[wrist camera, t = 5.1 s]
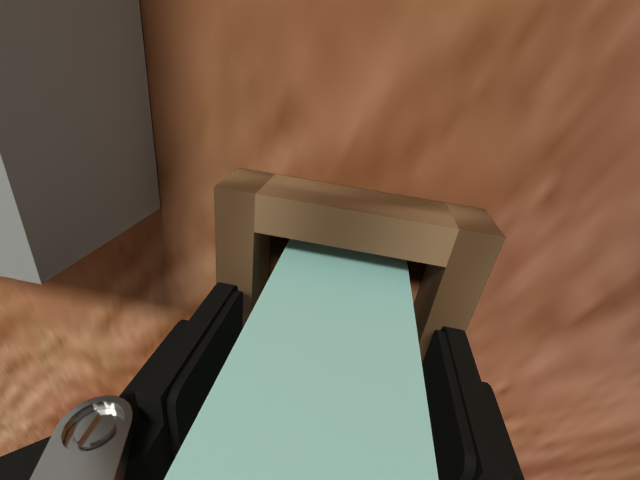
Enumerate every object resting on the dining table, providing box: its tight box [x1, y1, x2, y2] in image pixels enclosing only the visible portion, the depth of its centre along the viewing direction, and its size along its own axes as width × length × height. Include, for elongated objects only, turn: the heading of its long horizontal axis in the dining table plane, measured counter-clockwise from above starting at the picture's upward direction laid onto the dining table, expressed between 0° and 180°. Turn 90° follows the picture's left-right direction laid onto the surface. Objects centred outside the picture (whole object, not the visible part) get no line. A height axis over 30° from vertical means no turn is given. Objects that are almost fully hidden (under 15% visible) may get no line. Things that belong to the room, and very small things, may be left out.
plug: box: [164, 239, 439, 480], centre depth 8 cm, size 4×4×11 cm
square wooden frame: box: [214, 168, 506, 362], centre depth 12 cm, size 8×8×2 cm
